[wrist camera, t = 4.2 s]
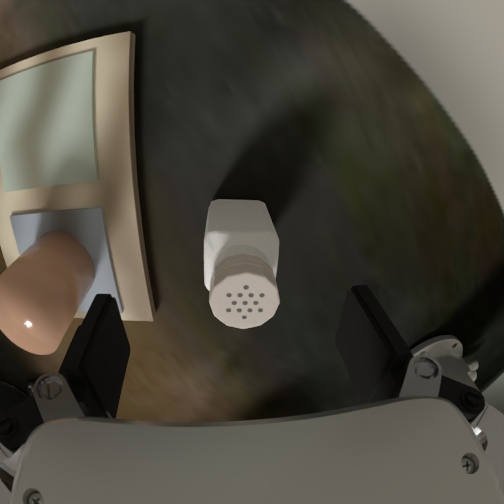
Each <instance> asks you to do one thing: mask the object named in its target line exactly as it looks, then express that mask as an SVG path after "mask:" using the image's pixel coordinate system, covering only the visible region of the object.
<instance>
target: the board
mask: <svg viewBox="0 0 504 504" xmlns="http://www.w3.org/2000/svg"><path fill="white" fill-rule="evenodd" d="M134 56H135V34H134V33H132V32H131V31H128V32H123V33H117V34H112V35H107V36H103V37H98V38H94V39H90V40H86V41H82V42H78V43H74V44H71V45H67V46H64V47H60V48H57V49H54V50H51V51H48V52H45V53H42V54H39V55H36V56H33V57H31V58H28V59H25V60H23V61H20V62H18V63H15V64H13V65H11V66H8V67H6V68H4V69H1V70H0V245H1V249H2V252H3V256H4V259H5V262H6V265H7V268H8V267H9V266H10V265H11V264H12V263H13V262H14V261H15V260H16V259H17V258H18V257H19V256H20V255H21V254H22V253H23V252H24V251H25V250H26V249H27V248H28V247H29V246H31V245H32V244H33V243H34V242H35V241H36V240H37V239H38V238H39V237H40V236H42V235H43V234H45V233H47V232H50V231H61V232H64V233H67V234H69V235H71V236H73V237H74V238H76V239H77V240H78V241H79V242H80V243H81V244H82V245H83V246H84V247H85V248H86V250H87V251H88V253H89V255H90V257H91V259H92V261H93V265H94V270H95V278H94V282H93V285H92V287H91V288H90V290H89V292H88V293H87V295H86V297H85V299H84V300H83V302H82V304H81V305H80V307H79V309H78V311H77V312H76V314H75V316H74V317H75V318H85V316H86V314H87V312H88V310H89V308H90V306H91V304H92V301H93V299H94V297H95V295H96V294H111V296H112V297H115V298H116V301H117V304H118V308H119V312H120V315H121V319H122V320H132V321H154V317H155V313H156V311H155V305H154V300H153V295H152V289H151V283H150V277H149V271H148V265H147V258H146V251H145V244H144V236H143V229H142V220H141V211H140V202H139V191H138V180H137V166H136V150H135V128H134Z"/></svg>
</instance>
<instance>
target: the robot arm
mask: <svg viewBox="0 0 504 504" xmlns="http://www.w3.org/2000/svg"><path fill="white" fill-rule="evenodd" d="M336 345H337V347H338V350H339V352H340V354H341V357H342V359H343V361H344V364H345V366H346V368H347V371H348V373H349V375H350V378H351V380H352V383H353V385H354V387H355V390H356V392H357V395H358V397H359V399H360V402H361V404H362V405H358V406H353V407H347V408H342V409H337V410H331V411H325V412H319V413H312V414H305V415H297V416H289V417H280V418H270V419H259V420H245V421H226V422H161V421H142V420H126V419H115V418H116V414H117V409H118V404H119V399H120V394H121V390H122V385H123V381H124V376H125V372H126V368H127V363H128V359H129V355H130V345H129V342H128V338H127V335H126V332H125V329H124V325H123V322H122V319H121V315H120V312H119V308H118V304H117V301H116V298H115V297H112V296H111V294H96V295H95V297H94V299H93V301H92V304H91V306H90V308H89V310H88V312H87V314H86V316H85V318H84V320H83V322H82V325H80V326H79V327H78V328H77V330H76V332H75V335H74V337H73V339H72V341H71V344H70V346H69V348H68V351H67V353H66V355H65V358H64V360H63V362H62V365H61V367H60V370H59V372H58V373H56V372H48V373H45V374H43V375H42V376H40V377H39V378H38V379H37V380H36V381H35V383H34V385H33V396H31V397H30V398H28V399H26V400H24V401H23V402H21V403H19V404H17V405H16V406H14V407H12V408H10V409H8V410H7V411H5V412H3V413H1V414H0V504H504V415H503V414H502V413H501V412H499V411H498V410H496V409H495V408H494V407H492V406H491V405H488V404H487V402H486V401H485V399H484V397H483V395H482V394H481V392H480V391H479V390H478V388H477V386H476V385H475V383H474V382H473V381H475V380H476V377H477V373H476V371H475V370H476V369H477V368H478V362H477V361H472V362H469V363H466V362H465V361H464V359H463V358H462V353H463V347H462V344H461V342H460V341H459V340H458V339H457V338H456V337H455V336H452V335H441V336H437V337H434V338H431V339H429V340H427V341H425V342H423V343H421V344H419V345H417V346H416V347H414V348H413V349H411V350H410V349H409V348H408V346H407V345H406V343H405V341H404V340H403V338H402V337H401V335H400V334H399V332H398V331H397V329H396V328H395V326H394V325H393V323H392V322H391V320H390V318H389V317H388V315H387V314H386V313H385V311H384V310H383V308H382V307H381V305H380V304H379V302H378V301H377V299H376V298H375V296H374V295H373V293H372V292H371V291H370V289H369V288H368V286H367V285H357V286H352V288H351V289H350V290H348V292H347V296H346V300H345V304H344V308H343V312H342V316H341V320H340V323H339V327H338V331H337V334H336Z"/></svg>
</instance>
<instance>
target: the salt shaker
mask: <svg viewBox="0 0 504 504" xmlns="http://www.w3.org/2000/svg"><path fill="white" fill-rule="evenodd" d="M278 254H279V239H278V236H277V233H276V230H275V228H274V225H273V223H272V220H271V218H270V215H269V213H268V210H267V208H266V205H265V203H264V202H261V201H259V200H232V199H217V200H214V201H211V203H210V206H209V209H208V216H207V222H206V229H205V237H204V279H205V286H206V287H207V289H208V290H209V291H210V295H209V303H210V305H211V308H212V311H213V314H214V316H215V317H216V318H218V319H219V320H220V321H222V322H223V323H224V324H226V325H227V326H232V327H236V328H241V329H245V328H250V327H255V326H260V325H262V324H263V323H264V322H266V321H267V320H269V319H270V318H271V317H273V316H274V314H275V312H276V310H277V307H278V305H279V303H280V298H279V293H278V288H277V284H276V280H275V278H276V272H277V264H278Z"/></svg>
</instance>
